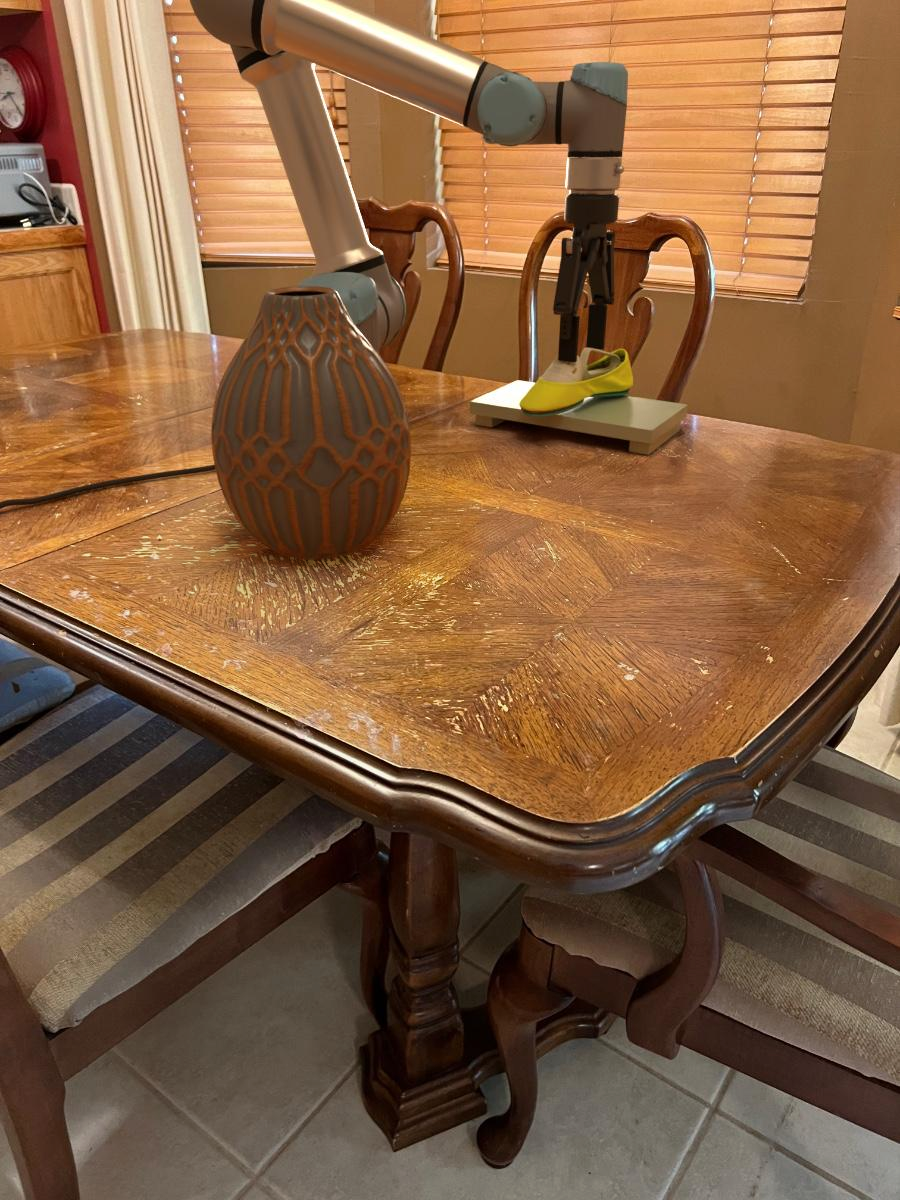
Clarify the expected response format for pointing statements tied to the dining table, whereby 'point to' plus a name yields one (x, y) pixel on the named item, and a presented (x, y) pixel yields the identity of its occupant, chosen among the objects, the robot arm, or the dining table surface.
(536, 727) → the dining table surface
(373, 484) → the vase
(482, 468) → the dining table surface
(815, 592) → the dining table surface
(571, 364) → the ballet flat
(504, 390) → the low footed display riser
